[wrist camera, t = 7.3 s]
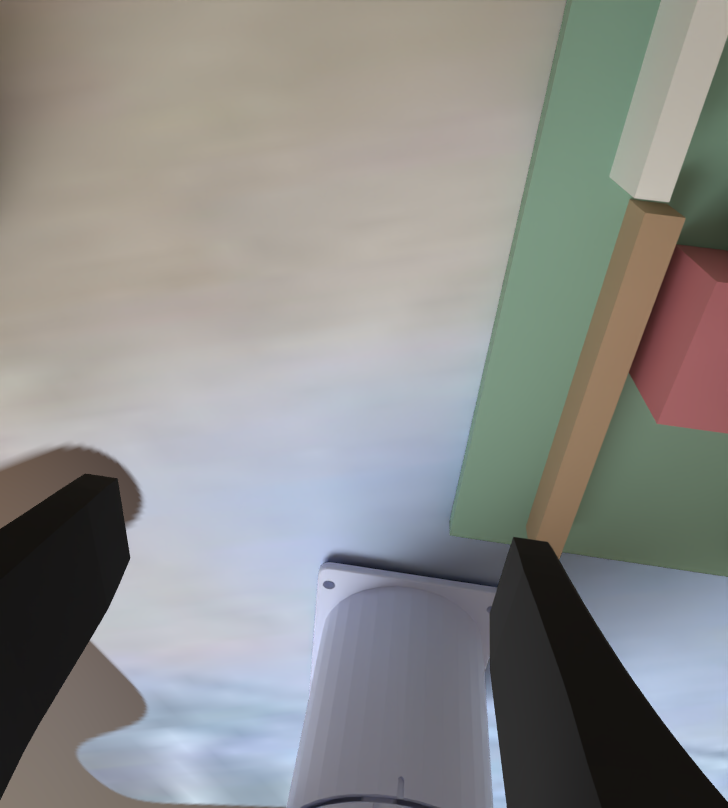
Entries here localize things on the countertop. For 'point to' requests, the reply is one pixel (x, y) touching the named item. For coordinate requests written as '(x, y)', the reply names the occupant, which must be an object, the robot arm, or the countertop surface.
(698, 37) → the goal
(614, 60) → the pitch
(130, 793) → the countertop surface
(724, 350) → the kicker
